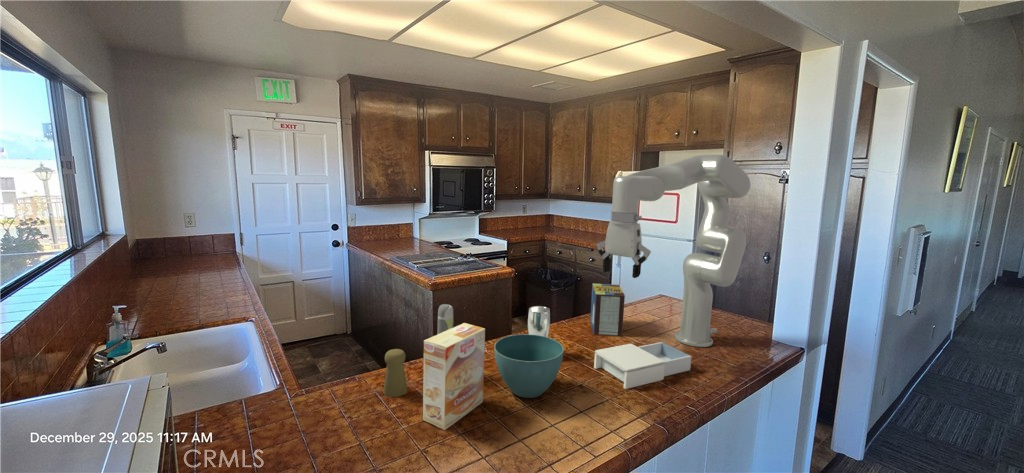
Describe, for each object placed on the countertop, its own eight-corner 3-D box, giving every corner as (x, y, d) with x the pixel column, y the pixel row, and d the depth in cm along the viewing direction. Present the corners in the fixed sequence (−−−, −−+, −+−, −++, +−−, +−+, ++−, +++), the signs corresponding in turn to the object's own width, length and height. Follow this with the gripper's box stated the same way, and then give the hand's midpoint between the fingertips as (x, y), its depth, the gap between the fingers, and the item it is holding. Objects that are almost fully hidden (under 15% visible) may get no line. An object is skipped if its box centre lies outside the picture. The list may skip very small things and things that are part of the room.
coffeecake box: (445, 431, 95) (446, 347, 92) (421, 420, 99) (421, 339, 96) (484, 402, 108) (486, 327, 105) (462, 393, 111) (463, 321, 109)
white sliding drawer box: (660, 354, 140) (661, 341, 139) (690, 370, 129) (691, 356, 128) (601, 367, 129) (602, 353, 128) (628, 385, 118) (629, 370, 118)
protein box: (616, 322, 170) (619, 284, 168) (622, 336, 155) (625, 295, 153) (589, 320, 171) (592, 282, 169) (593, 334, 156) (595, 293, 154)
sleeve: (629, 360, 135) (631, 343, 134) (663, 379, 123) (665, 361, 122) (593, 367, 129) (595, 350, 128) (625, 389, 117) (626, 370, 116)
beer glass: (523, 356, 135) (525, 310, 133) (530, 348, 142) (532, 304, 140) (544, 360, 133) (546, 314, 131) (551, 352, 139) (553, 307, 137)
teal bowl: (481, 398, 109) (482, 353, 107) (508, 369, 126) (509, 329, 124) (550, 415, 103) (552, 366, 101) (568, 382, 119) (571, 340, 118)
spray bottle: (457, 372, 123) (458, 305, 120) (443, 378, 119) (444, 309, 116) (446, 367, 126) (447, 301, 123) (432, 372, 123) (433, 304, 120)
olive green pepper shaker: (411, 387, 114) (411, 348, 112) (398, 398, 108) (398, 357, 106) (392, 383, 115) (391, 344, 114) (378, 394, 110) (377, 353, 108)
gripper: (657, 220, 125) (653, 277, 127) (605, 215, 136) (602, 267, 139) (646, 221, 119) (642, 281, 122) (592, 216, 130) (589, 271, 133)
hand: (620, 274), depth 130 cm, fingers open, 9 cm apart
